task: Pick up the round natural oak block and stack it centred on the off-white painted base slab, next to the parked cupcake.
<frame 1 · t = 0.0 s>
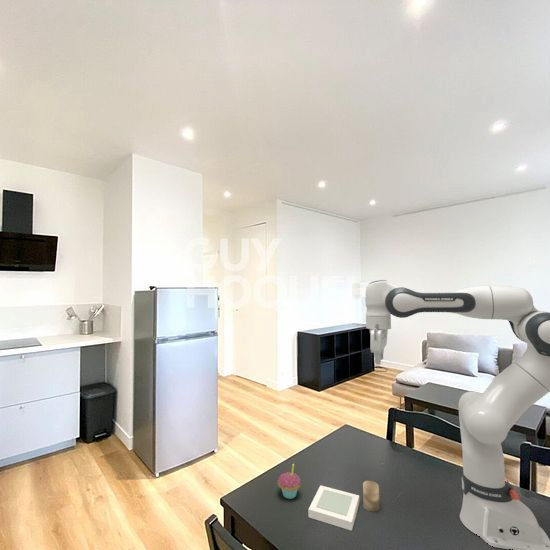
hand: (379, 361, 112), 48 cm above the table, fingers open, 8 cm apart
base slab: (334, 509, 103), on the table
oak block: (371, 506, 105), on the table
cupcake: (289, 495, 111), on the table
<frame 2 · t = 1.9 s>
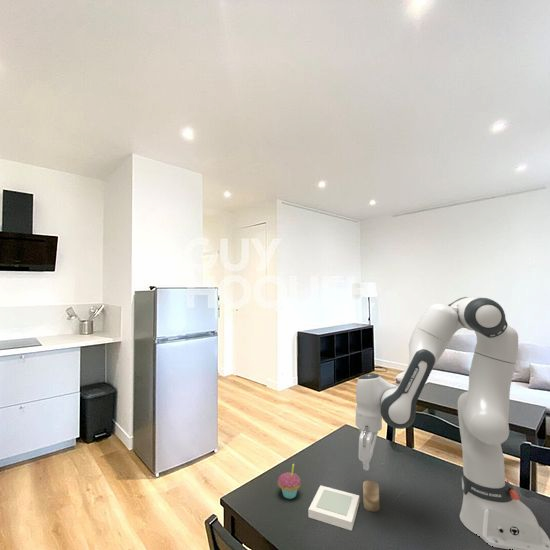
hand: (368, 462, 106), 14 cm above the table, fingers open, 8 cm apart
nothing on the table moved.
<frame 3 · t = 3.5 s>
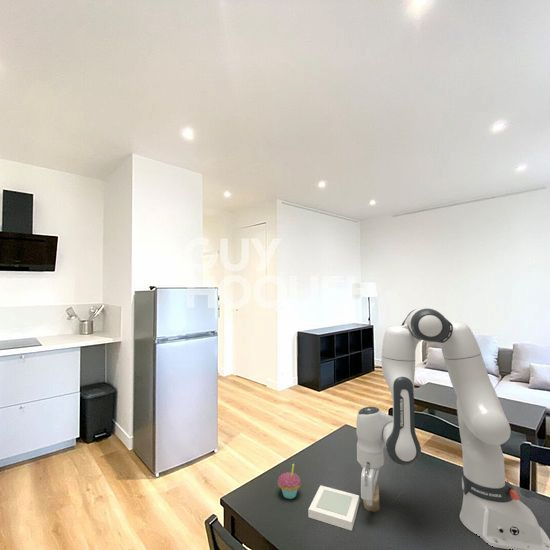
hand: (371, 498, 105), 3 cm above the table, fingers closed on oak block, 5 cm apart
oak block: (371, 506, 105), on the table, touching gripper
everything else where it was.
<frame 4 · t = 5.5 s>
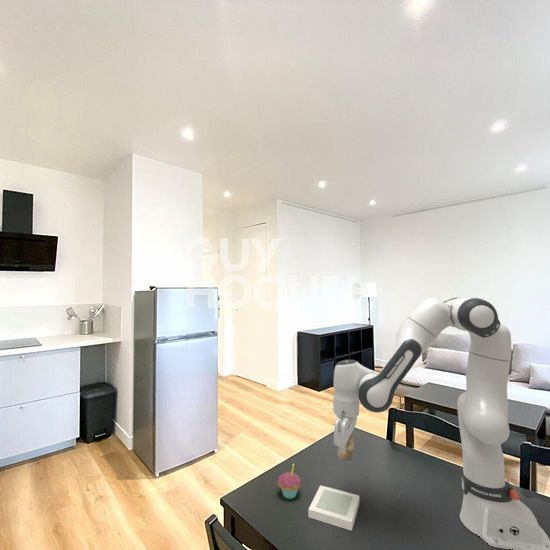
hand: (345, 448, 105), 20 cm above the table, fingers closed on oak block, 5 cm apart
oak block: (345, 456, 105), point 17 cm above the table, touching gripper
everything else where it was.
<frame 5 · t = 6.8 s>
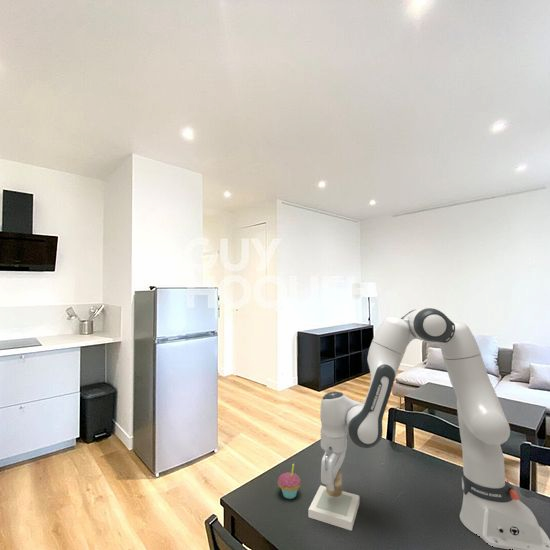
hand: (334, 483, 104), 8 cm above the table, fingers closed on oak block, 5 cm apart
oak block: (334, 491, 103), point 6 cm above the table, touching gripper
everything else where it was.
when the fingers open (5 cm above the table, at t = 7.8 s): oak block stays where it is, resting on base slab.
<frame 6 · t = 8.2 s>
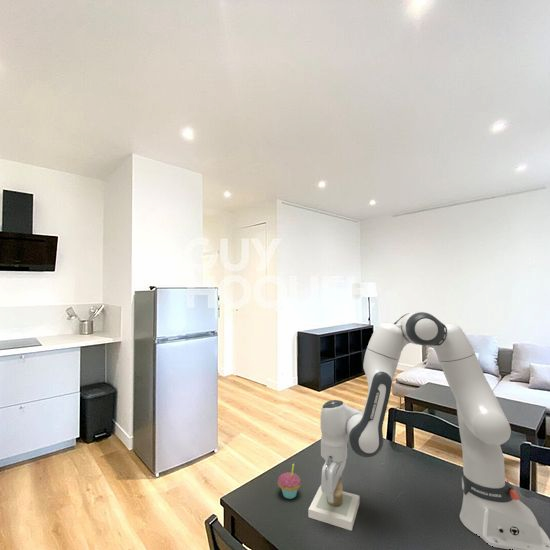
hand: (334, 492, 103), 5 cm above the table, fingers open, 8 cm apart
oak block: (334, 501, 103), point 3 cm above the table, touching base slab
everything else where it was.
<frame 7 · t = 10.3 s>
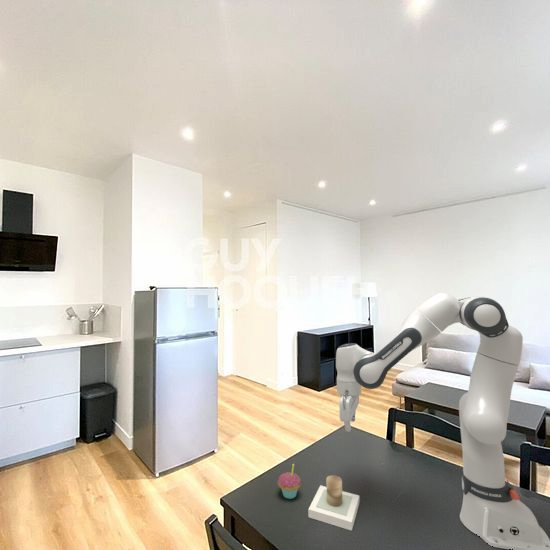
hand: (350, 425, 113), 24 cm above the table, fingers open, 8 cm apart
nothing on the table moved.
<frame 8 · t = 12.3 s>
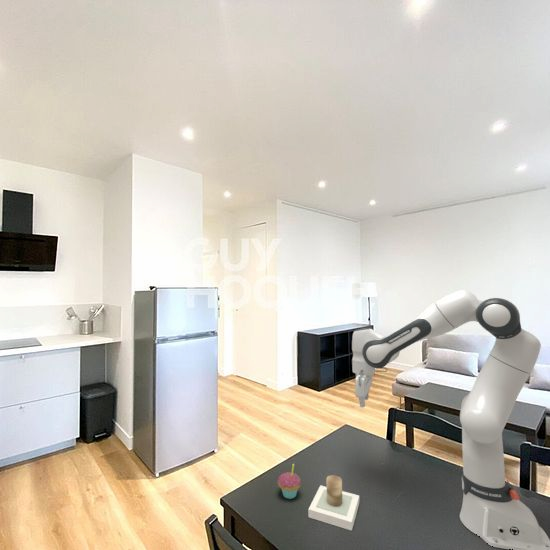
hand: (364, 403, 123), 29 cm above the table, fingers open, 8 cm apart
nothing on the table moved.
at the end: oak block inside the target area on the base slab (0.0 cm from its centre), point 2.8 cm above the base slab's base; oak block tilted 1°; the gripper is holding nothing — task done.
